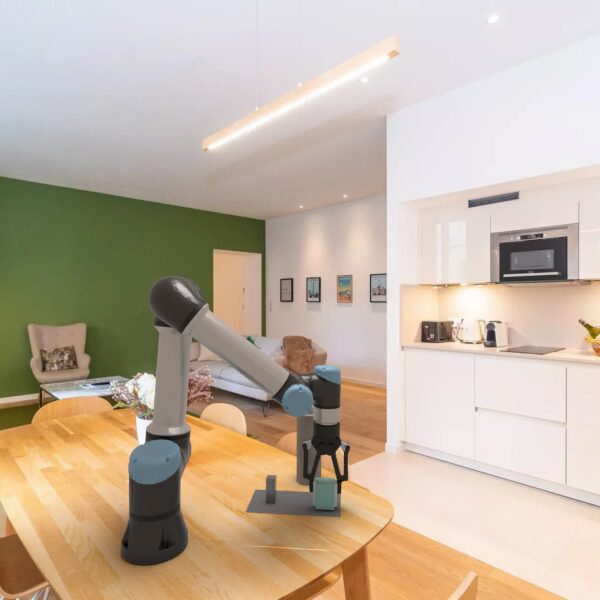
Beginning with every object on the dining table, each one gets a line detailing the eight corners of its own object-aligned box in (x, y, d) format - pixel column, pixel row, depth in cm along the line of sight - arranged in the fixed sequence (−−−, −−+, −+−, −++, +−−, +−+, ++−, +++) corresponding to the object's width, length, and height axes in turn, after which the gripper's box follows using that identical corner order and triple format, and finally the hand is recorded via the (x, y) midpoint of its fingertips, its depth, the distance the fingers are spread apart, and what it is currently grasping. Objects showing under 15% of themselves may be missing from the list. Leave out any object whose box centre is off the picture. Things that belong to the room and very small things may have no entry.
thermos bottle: (307, 474, 144) (308, 390, 144) (326, 481, 139) (326, 394, 138) (291, 481, 138) (291, 394, 138) (309, 489, 133) (310, 398, 133)
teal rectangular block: (334, 510, 118) (334, 486, 118) (315, 508, 118) (315, 485, 118) (334, 501, 123) (334, 478, 123) (316, 500, 123) (316, 477, 123)
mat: (340, 518, 115) (340, 517, 115) (245, 513, 118) (245, 512, 118) (340, 494, 129) (340, 493, 129) (255, 490, 132) (255, 489, 132)
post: (274, 503, 123) (274, 479, 123) (265, 503, 123) (265, 478, 123) (276, 499, 125) (276, 475, 125) (267, 498, 125) (267, 474, 125)
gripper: (358, 418, 123) (357, 499, 123) (295, 416, 125) (294, 495, 125) (360, 426, 116) (358, 512, 116) (292, 423, 117) (291, 508, 118)
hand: (325, 503), depth 120 cm, fingers closed on teal rectangular block, 5 cm apart
